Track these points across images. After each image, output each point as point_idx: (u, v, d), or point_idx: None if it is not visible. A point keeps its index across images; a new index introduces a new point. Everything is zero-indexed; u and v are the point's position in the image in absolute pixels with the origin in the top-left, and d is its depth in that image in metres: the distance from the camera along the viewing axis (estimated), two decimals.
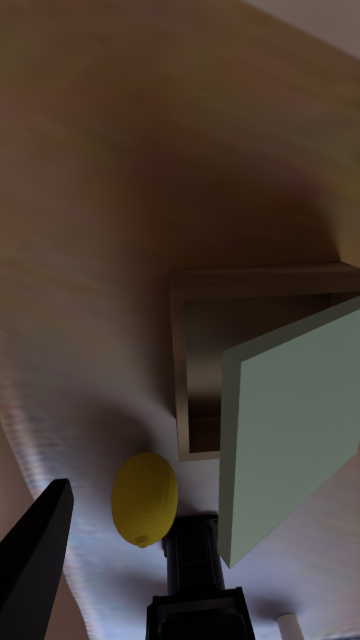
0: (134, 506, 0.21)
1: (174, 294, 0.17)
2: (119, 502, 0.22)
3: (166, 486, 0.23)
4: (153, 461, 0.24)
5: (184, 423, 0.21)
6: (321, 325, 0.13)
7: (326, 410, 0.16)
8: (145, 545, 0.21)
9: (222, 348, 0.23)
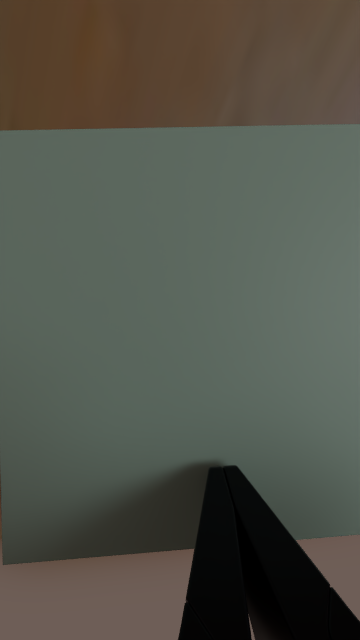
0: None
1: None
2: None
3: None
4: None
5: None
6: (0, 391, 0.09)
7: (187, 317, 0.09)
8: None
9: None
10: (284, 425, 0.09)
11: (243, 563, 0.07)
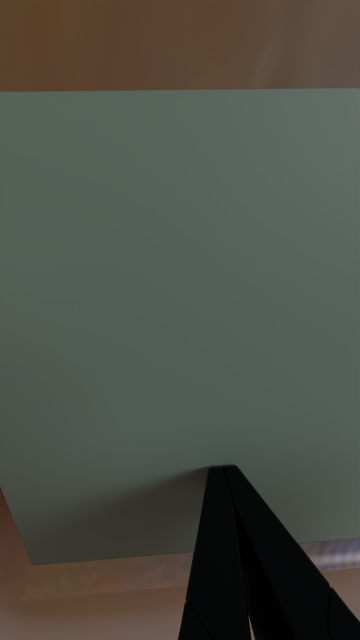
0: None
1: None
2: None
3: None
4: None
5: None
6: None
7: (202, 388, 0.07)
8: None
9: None
10: (293, 477, 0.09)
11: (243, 563, 0.07)
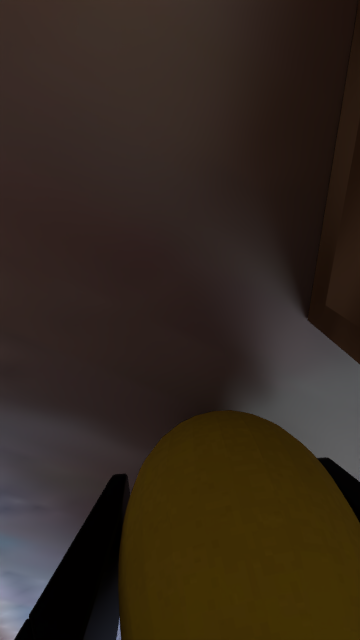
0: None
1: None
2: (162, 625, 0.04)
3: (356, 534, 0.05)
4: (268, 433, 0.07)
5: None
6: None
7: None
8: None
9: None
10: None
11: None
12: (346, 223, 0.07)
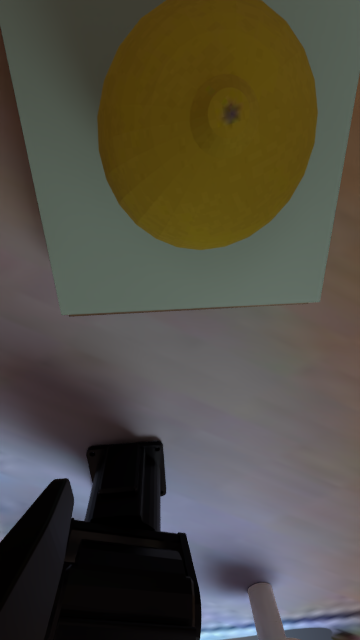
0: None
1: None
2: (126, 37, 0.06)
3: None
4: None
5: None
6: None
7: None
8: (240, 112, 0.05)
9: None
10: (122, 217, 0.13)
11: None
12: None
